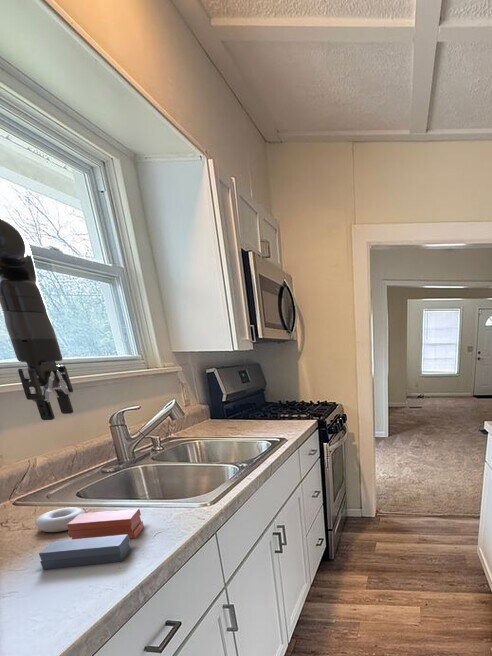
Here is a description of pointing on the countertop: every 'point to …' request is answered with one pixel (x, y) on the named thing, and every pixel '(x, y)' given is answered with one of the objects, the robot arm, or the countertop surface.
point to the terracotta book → (104, 519)
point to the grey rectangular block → (85, 551)
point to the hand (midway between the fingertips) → (58, 416)
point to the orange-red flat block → (109, 531)
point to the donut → (57, 519)
